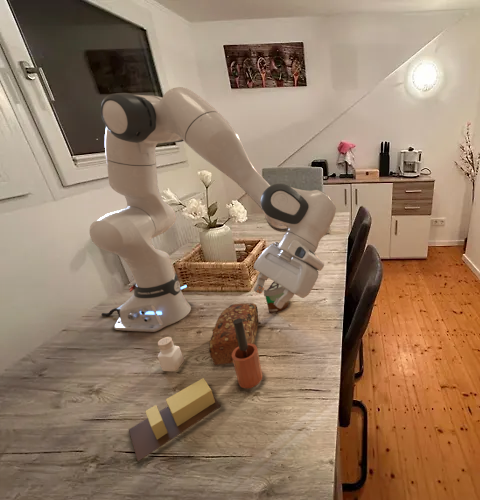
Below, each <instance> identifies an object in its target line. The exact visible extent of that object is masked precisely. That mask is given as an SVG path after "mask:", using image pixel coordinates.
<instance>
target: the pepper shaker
mask: <svg viewBox="0 0 480 500" xmlns="http://www.w3.org/2000/svg"><path fill="white" fill-rule="evenodd" d="M157 346H158V348H159V351H160V352H158V354H157V360H158V362H159V365H160V367H161V370H162V371H163V372H176V371H178V370H179V369H180V367H181V366H182V364H183V363H184V361H185V359H184V355H183V353H182V350H181V347H180V346H178V345H175V343H174V341H173V339H172V337H171V336H166V337H163V338H161V339H159V340H158V341H157Z"/></svg>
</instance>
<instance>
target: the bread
mask: <svg viewBox="0 0 480 500" xmlns="http://www.w3.org/2000/svg"><path fill="white" fill-rule="evenodd" d="M238 318H241V319H242V321H243V325H244V330H245V335H246V339H247V343H251V344H254V345H255V342H256V337H257V333H258V327H259V322H260V321H259V311H258V306H257V304H255V303H253V302H250V303H245V302H241V303H233V304H230V305H229V306H228V307H226V308H225V309H223V310H222V312H221V313H220V315H219V316H218V318H217V320H216V322H215V326H214V327H213V328H212V335H211V337H210V340H209V343H208V352H209V356H210V358H211V360H212V363H213V365H215V366H218V365H225V364H234V363H233V359H232V352H233V351H234V350H235V348H237V347H238V341H237V337H236V333H235V328H234V324H233V321H234V320H235V319H238Z"/></svg>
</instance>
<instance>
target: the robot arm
mask: <svg viewBox="0 0 480 500" xmlns="http://www.w3.org/2000/svg"><path fill="white" fill-rule="evenodd" d="M100 116H101V120H102V122H103V124H104V125H105V134H104V148H105V149H104V150H105V151H104V152H105V163H106V169H107V177H108V184H109V186H110V188H111V189H112V190H113V191H115V192H116V193H117V194H120V195H122V196H124V198H125V200H126V207H124V208H122V209H118V210H115V211H111V212H109V213H106V214H105V215H102V216H101V217H99V218H98V219H96V220H95V221H93V222H92V223H91V224H90V226H89V237H90V239H91V241H92V242H93V243H94V245H95V246H97V248H99V249H101V250H102V251H105V252H107V253H110V254H111V253H112V254H114V255H117V256H119V257H120V258H121V259H122V260H123V261H124V262H125V263H126V264H127V266H128V268H129V270H130V273H131V275H132V277H133V280H134V283H133V284H132V286H131V287H130V288H128V291H129V293H131V292H133V294H132V295H131V296H129V298H128V299H127V300H126V301H124V303H122V304H121V305H120V306H118V307H115V308H112V309H111V310H110V311H109V312H102V313H101V317H109V316H112V315H113V314H114V313H115V312H116V313H117V315H118V319H117V320H116V321H115V323H114V326H113V328H114V330H115V331H127V332H143V333H144V332H148V333H155V332H158V331H160V330H162V329H163V328H165V327H167V326H170V325H172V324H175V323H177V322H179V321H181V320H183V319H184V318H185V317H187V316H188V315H189V313H191V310H192V306H191V305H190V303H189V302H188V301H187V299H186V297H185V296H184V294H183V291H182V290H183V289H186V288H187V287H188V286H187V284H184V285H183V286H181V283H180V280H179V277H178V274H177V272H175V269H174V265H173V263H172V259H171V256H170V254H169V253H168V252H166V251H164V250H161V249H158V248H157V249H156V247H155V246H154V244H153V241H152V239H154V238H156V237H158V236H160V235H162V234H164V233H166V232H167V231H169V229H171V228H172V227H173V226H174V225H175V223H176V220H177V216H176V212H175V210H174V208H173V207H172V206H171V204H168V203H167V202H165V201H164V199H163V197H162V195H161V192H160V188H159V183H158V169H157V156H156V149H157V148H156V147H157V145H158V144H164V143H168V144H170V143H171V144H172V143H182V142H184V143H185V144H186V145H187V146H188V147H189V148H190V149H191V150H193V151H194V152H195V153H196V154H197V155H198V156H200V158H202V159H203V160H205V161H206V162H207V163H208V164H209V165H212V167H214V168H216V169H217V170H219V171H220V172H221V173H222V174H224V175H225V176H227V177H228V178H230V180H232V181H233V182H234V183H236V184H237V185H238V187H240V188H241V189H242V190H243V191H244V192H245V194H247V196H249V198H251V199H252V200H253V201H254V202H255V203H256V205H258V207H259V208H260V209H261V210H262V212H263V216H264V217H265V220H266V223H267V224H268V225H269V227H270V228H272V229H273V230H274V231H276V232H280V233H284V234H283V236H282V238H281V239H280V241H279V242H278V241H274V242H273V243H270V244H269V246H266V247H265V248H264V250H263V251H262V252H261V253H260V254H259V256H258V257H257V259H256V260H255V261H254V264H253V270H256V271H257V272H258V275H257V278H256V284H255V285H254V287H253V291H254V292H255V293H256V294H263V292H264V290H265V287H264V285H265V282H267V281H268V279H270V280H271V281H272V282H276V283H278V284H279V285H281V286H282V287H284V288H285V290H284V292H283V293H284V294H283V295H282V296H281V297H280V298H279V299H278V298H276V300H275V302H274V305H275V306H276V307H278V308H280V309H281V308H282V307H283V305H284V304H285V302H287V301H288V300H289V301H290V300H291V299H293V297H294V296H295V295H296V296H297V297H299V298H302V299H305V298H306V297H308V296H309V295H310V293H311V292H312V290H313V288H314V287H315V284H316V282H317V280H318V279H319V271H322V270H323V268H324V267H325V263H324V262H323V260H321V259H320V258H321V257H319V256H318V255H317V253H316V251H317V249H318V248H319V243H320V241H321V239H323V237H324V236H325V235H327V234H326V232H327V230H328V229H329V227H330V228H331V225H332V223H333V221H334V218H335V216H336V212H337V208H336V204H335V202H334V201H333V200H332V199H331V197H330V196H329V195H328V194H326V193H325V192H323V191H321V190H319V189H313V190H305V189H299V188H295V187H292V186H290V185H289V184H284V183H275V184H271V185H270V183H269V182H268V181H267V180H266V179H265V178H264V177H263V176H262V175H261V174H260V173H259V172H258V171H257V169H256V168H255V167H254V165H253V164H252V161H251V160H250V158H249V155H248V154H247V151H246V149H245V147H244V145H243V142H242V140H241V138H240V136H239V135H238V133H237V132H236V131H235V129H234V128H233V126H232V125H231V124H230V122H229V121H228V120H227V119H226V118H225V117H224V116H223V115H222V114H221V113H220V112H219V111H218V110H217V109H216V108H215V107H213V106H212V105H211V104H210V103H209V102H208V101H207V100H205V99H204V98H203V97H202V96H200V95H198V94H197V93H196V92H194V91H193V90H191V89H189V88H187V87H182V86H177V87H172V88H171V89H169V90H167V91H165V93H164V94H163V96H162V97H161V96H157V95H153V94H152V95H151V94H147V95H145V94H133V93H129V92H118V93H117V92H116V93H111V94H108V95H107V96H105V97H104V98H103V100H102V102H101V106H100Z"/></svg>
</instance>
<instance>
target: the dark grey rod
mask: <svg viewBox="0 0 480 500" xmlns="http://www.w3.org/2000/svg"><path fill="white" fill-rule="evenodd" d="M233 324H234V328H235V333H236V337H237V341H238V346H239V350H240V351H242V353H243V357H244V358H247V357H248V354H247V349H248V344H247V339H246V335H245V330H244V325H243V321H242V319H241V318H238V319H235V320H234V321H233Z"/></svg>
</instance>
